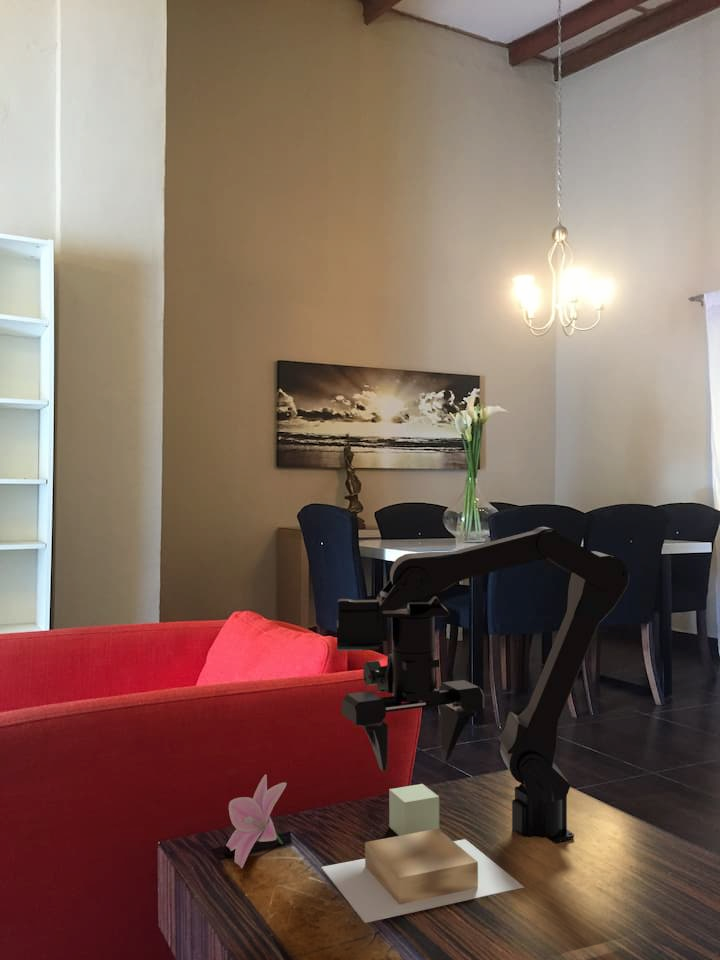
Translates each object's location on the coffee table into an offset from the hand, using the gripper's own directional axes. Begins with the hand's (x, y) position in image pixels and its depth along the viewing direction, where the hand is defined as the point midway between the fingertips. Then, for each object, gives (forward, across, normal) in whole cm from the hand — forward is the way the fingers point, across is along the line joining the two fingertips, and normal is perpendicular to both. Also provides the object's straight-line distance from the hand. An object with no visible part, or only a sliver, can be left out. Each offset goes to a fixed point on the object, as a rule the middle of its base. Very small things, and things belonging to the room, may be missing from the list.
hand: (414, 765), depth 117 cm
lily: (+10, +21, -3) cm, 24 cm away
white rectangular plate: (+10, +5, +12) cm, 16 cm away
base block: (+9, +5, +12) cm, 16 cm away
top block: (+10, 0, 0) cm, 10 cm away
